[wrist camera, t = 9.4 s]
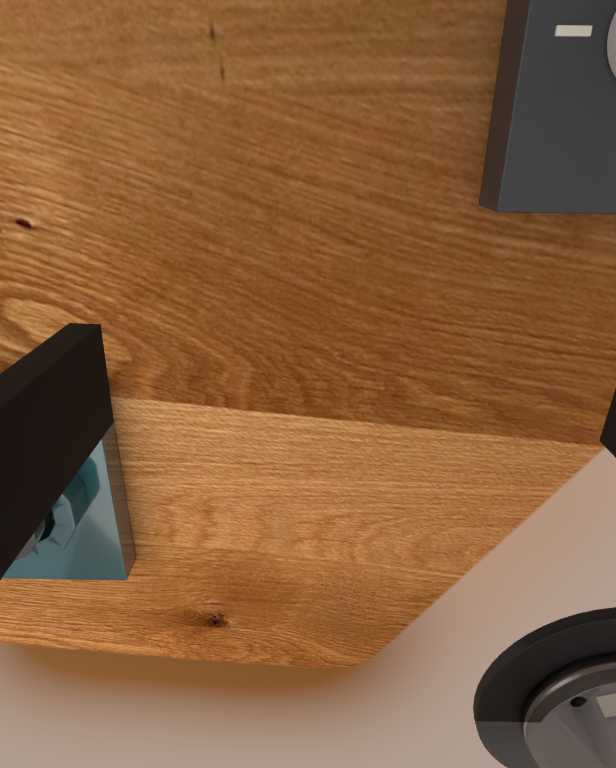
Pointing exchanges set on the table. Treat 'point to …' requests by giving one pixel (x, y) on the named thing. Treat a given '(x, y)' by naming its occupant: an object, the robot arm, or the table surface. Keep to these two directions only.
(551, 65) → the dial base
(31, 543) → the dark grey round knob
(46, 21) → the table surface
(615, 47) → the tap dial
